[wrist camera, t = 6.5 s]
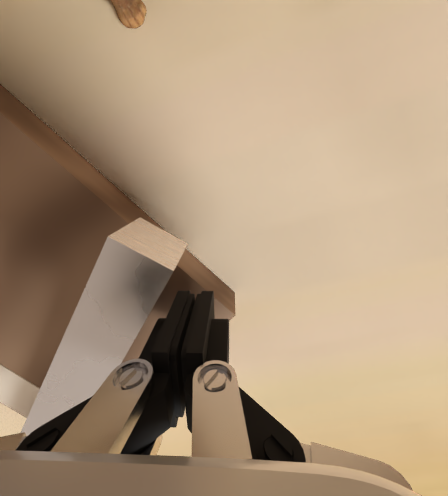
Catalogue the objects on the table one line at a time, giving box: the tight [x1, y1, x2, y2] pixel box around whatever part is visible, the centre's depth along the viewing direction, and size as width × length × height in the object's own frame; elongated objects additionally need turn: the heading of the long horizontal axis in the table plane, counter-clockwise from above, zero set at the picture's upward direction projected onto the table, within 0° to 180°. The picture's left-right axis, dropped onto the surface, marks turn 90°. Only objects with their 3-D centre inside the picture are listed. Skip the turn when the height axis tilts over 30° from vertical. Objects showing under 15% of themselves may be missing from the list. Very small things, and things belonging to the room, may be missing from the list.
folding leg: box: [21, 217, 188, 436], centre depth 12 cm, size 16×2×3 cm, turn 150°
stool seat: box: [0, 84, 235, 418], centre depth 14 cm, size 18×15×2 cm
